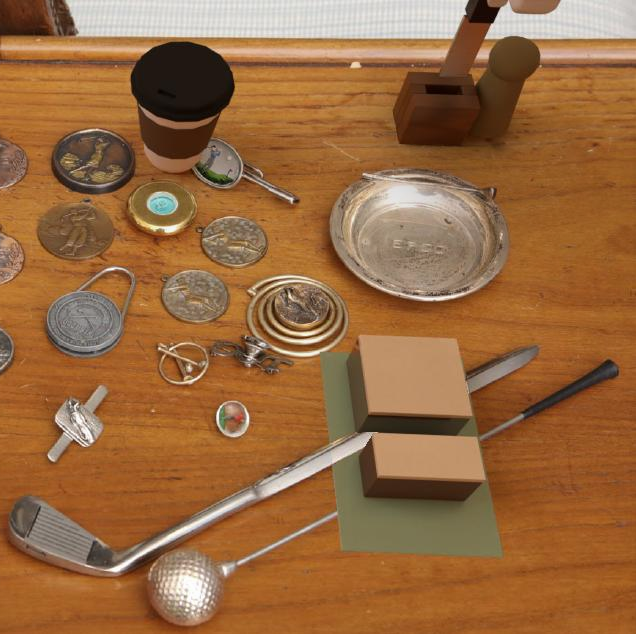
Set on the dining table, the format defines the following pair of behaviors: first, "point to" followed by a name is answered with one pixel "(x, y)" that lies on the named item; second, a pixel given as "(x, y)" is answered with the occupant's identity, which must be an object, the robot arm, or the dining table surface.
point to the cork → (503, 84)
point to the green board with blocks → (404, 418)
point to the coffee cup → (179, 101)
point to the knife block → (435, 109)
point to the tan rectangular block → (421, 467)
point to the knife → (468, 39)
